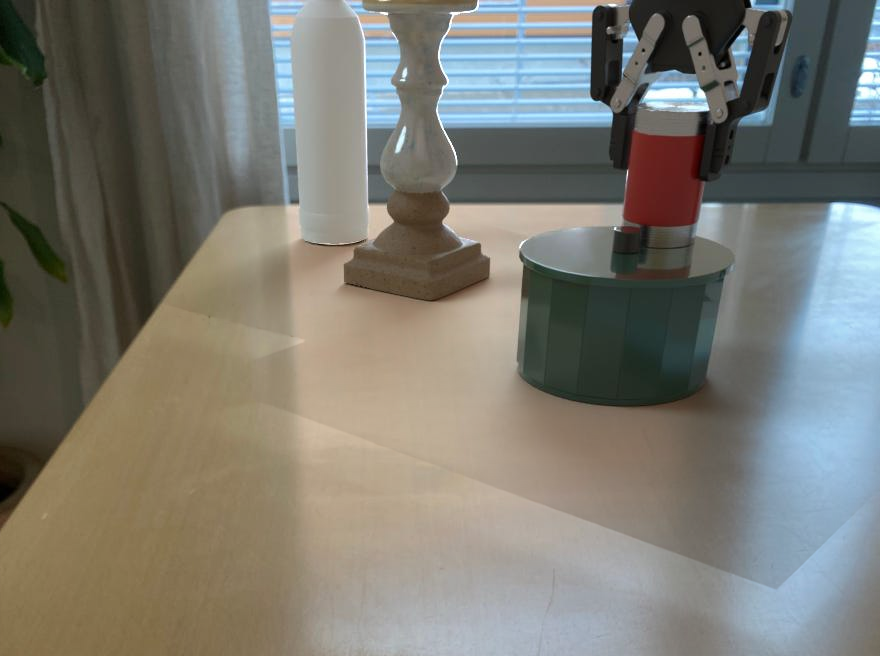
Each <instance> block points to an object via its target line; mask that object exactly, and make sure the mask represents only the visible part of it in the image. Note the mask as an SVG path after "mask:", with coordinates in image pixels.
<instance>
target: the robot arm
mask: <svg viewBox="0 0 880 656" xmlns="http://www.w3.org/2000/svg"><path fill="white" fill-rule="evenodd" d="M792 23H793V14H792V12H791V11H790V10H789V9H788V8H787V9H786V8H784V9H783V8H782V9H774V10H768V9H767V10H766V9H761V8H755V7H753V6H752V2H751V0H631V2H630V4H620V3H605V4H599V5H597V6H595V8H593V11H592V14H591V44H590V45H591V47H590V52H591V53H590V80H589V81H590V83H589V93H590V94H589V95H590V98H591V100H593V101H594V102H601V103H603V104H604V105H606V106H608V107H609V108H610V110H611V112H612V120H611V129H610V139H609V146H608V157H609V160H610V161H612V168H613V169H614V170H617V171H627V169H628V161H629V153H630V145H631V137H632V130H633V126H634V118H635V110H636V105H637V104H640V103H643V102H644V99H645V97H646V96H647V94H648V92H649V91H650V89H651V87H652V86H653V84H654V83H655V82H657V81H658V79H659V78H660V76H661V75H662V73H666V72H671V71H677V72H679V73H681V74H684V75H696V79H697V83H698V86H699V89H700V90H701V91H702V92H703V93H704V95H705V99H706V104H708V107H709V111H710V114H711V118H712V120H713V123H709V124H707V130H706V137H705V143H704V149H703V155H702V161H701V167H700V173H699V180H700V181H705V183H706V182H707V183H712V182H714V181H719V179H721V176H722V175H723V173H725V172H727V171H728V170H729V167H730V166H731V163H732V158H733V152H734V146H735V141H736V135H737V129H738V125H739V123H740V121H741V120H742V119H743V118H745V117H748V116H750V115H755V114H757V113H760V112H764V111H766V110H767V109H768V107H769V106H770V103H771V99H772V96H773V91H774V88H775V84H776V81H777V77H778V74H779V70H780V66H781V63H782V59H783V56H784V52H785V48H786V45H787V41H788V38H789V34H790V30H791V27H792ZM630 25H631V28H632V30H633V33H634V35H635V37H636V40H637V42H638V43H637V45H636V46H635V49H634V51H633V52H632V54H631V56H630V58H629V59H628V62H627V63H626V65H625V67H624V69H623V59H624V58H623V57H624V39H625V38H626V36H627V35H628V32H629V31H630ZM746 29H747V43H748V45H749V46H750V47H751V50H750V55H749V58H748V62H747V66H746V70H745V74H744V78H743V82H742V85H741V90H739V87H738V78H739V74H738V69H737V65H736V61H735V58H734V57H735V56H734V54H733V50H732V46H733V44H734V43H735V42H736V40H737V39H738V38H739V36H740V35H741V34H742V33H743V32H744V30H746Z"/></svg>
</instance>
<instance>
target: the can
mask: <svg viewBox="0 0 880 656" xmlns="http://www.w3.org/2000/svg"><path fill="white" fill-rule="evenodd" d="M709 123H713V120H712V118H711V114H710V111H709V107H708V103H703V102H702V103H701V102H692V101H672V100H670V101H669V100H666V101H665V100H664V101H661V100H659V101H647V102H646V101H645V102H642V103H640V104H637V105H636V110H635V118H634V126H633V130H632V137H631V145H630V153H629V161H628V169H627V170H626V178H625V186H624V195H623V203H622V210H621V211H622V212H621V225H620V226H633V227H638V228H640V229H642V236H641V244H640V246H641V247H649V248H679V247H685V246H689V245H691V244H693V243H694V241H695V236H697V235H696V234H697V230H698V223H699V220H700V216H701V215H700V214H701V209H702V202H703V198H704V190H705V186H706V182H705V181H700V180H699V173H700V167H701V161H702V155H703V149H704V143H705V137H706V130H707V124H709Z"/></svg>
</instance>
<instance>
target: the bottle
mask: <svg viewBox="0 0 880 656" xmlns="http://www.w3.org/2000/svg"><path fill="white" fill-rule="evenodd" d="M359 17H360V16H359V15H358V14H357V13H356V11H354V9H353V8H352V7H351V6H350V4H348V2H347V1H346V0H307V1H306V2H305V3H304V5H303V6H302V7H301V8H300V10H299V11H298V12H297V14H296V15H295V16H294V20H293V24H292V29H291V33H290V38H289V44H290V62H291V80H292V97H293V98H292V99H293V114H294V115H293V116H294V134H295V151H296V152H295V153H296V168H297V169H296V170H297V186H298V188H297V189H298V205H299V207H298V220H299V226H300V237H301V239H302V240H303V239H304V240H307V241H309V242H316V243H330V244H339V243H351V242H356V241H360V240H363V239H365V238H367V237H368V238H369V236H368V235H370V232H369V231H370V230H369V229H370V228H369V227H370V226H369V225H370V207H369V180H368V179H369V177H368V175H369V173H368V171H369V170H368V125H367V124H368V123H367V122H368V121H367V119H368V118H367V116H368V115H367V69H366V67H367V66H366V65H367V64H366V63H367V62H366V38H365V34H364V30H363V27H362V24H361V21H360V18H359ZM368 238H367V239H368ZM304 240H303V241H304ZM309 242H308V243H309Z"/></svg>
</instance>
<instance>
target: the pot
mask: <svg viewBox="0 0 880 656" xmlns="http://www.w3.org/2000/svg"><path fill="white" fill-rule="evenodd" d="M521 275H522V277H521V292H520V307H519V321H518V332H517V333H518V335H517V348H516V349H517V350H516V362H517V369H518V370H517V371H518V374H519V375H520V376H521V378H522V379H523V380H524V381H525V382H526V383H528V384H529V385H531V386H532V387H534V388H536V389H538V390H540V391H542V392H545V393H547V394H550V395H553V396H555V397H559V398H563V399H566V400H571V401H576V402H580V403H586V404H592V405H593V404H594V405H604V406H619V407H637V406H653V405H660V404H666V403H671V402H675V401H680V400H682V399H684V398H687V397H690V396H692V395H694V394H696V393H697V392H698V391H699V390H701V389H702V387H703V386H704V385H705V383H706V379H707V375H708V370H709V363H710V360H711V359H710V358H711V354H712V348H713V344H714V338H715V332H716V327H717V321H718V315H719V311H720V305H721V301H722V295H723V290H724V284H725V278H726V276H724V277H723V278H720V279H718V280H715V281H711V282H708V283H704V284H699V285H693V286H686V287H676V288H660V289H631V288H613V287H603V286H593V285H587V284H580V283H575V282H569V281H565V280H561V279H557V278H553V277H550V276H547V275H544V274H541V273H539V272H536V271H534V270H532V269H530V268H528V267H527V266H526V265H524V264H523V263H522V274H521Z"/></svg>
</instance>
